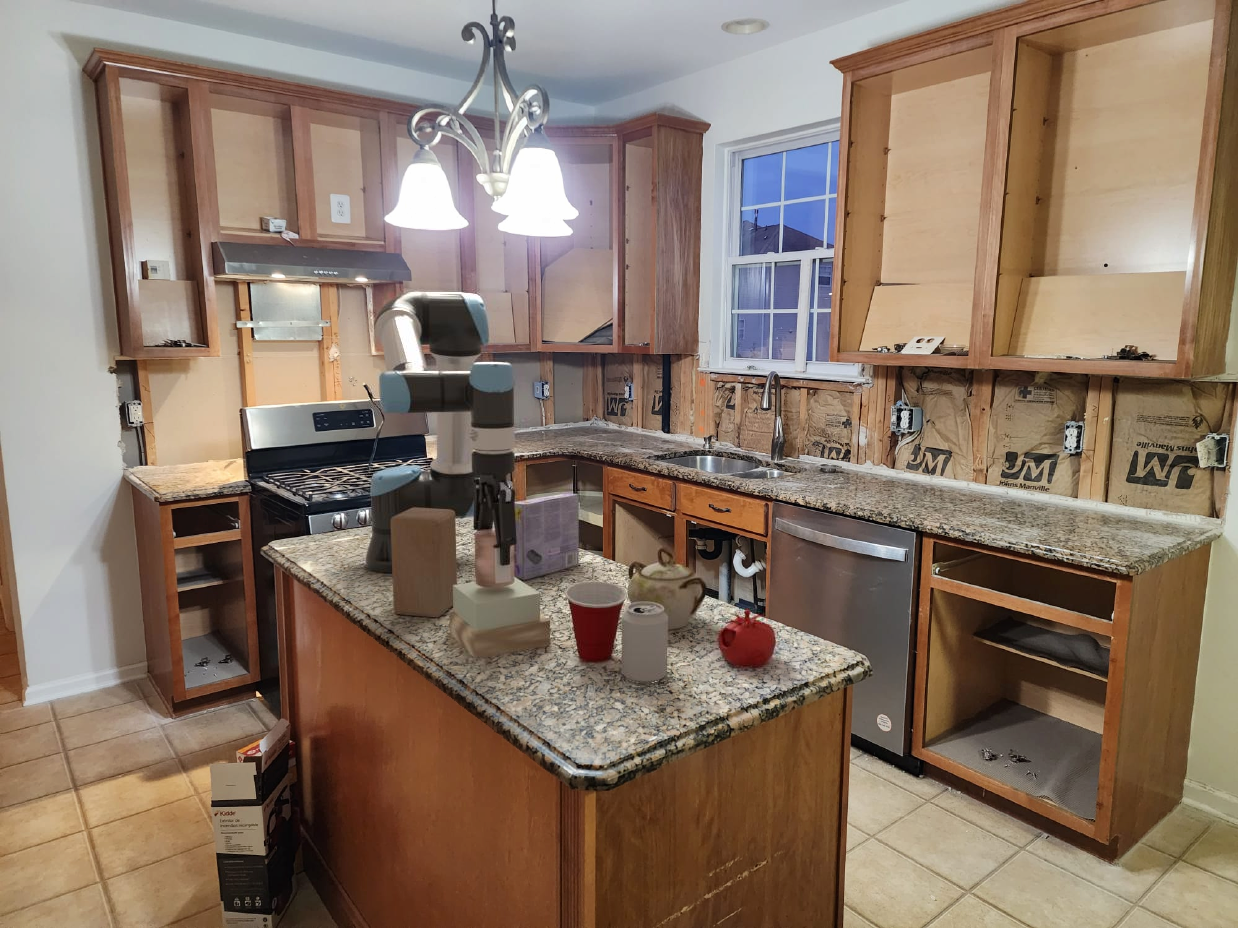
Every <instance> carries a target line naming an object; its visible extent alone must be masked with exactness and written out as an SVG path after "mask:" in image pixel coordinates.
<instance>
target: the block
mask: <svg viewBox="0 0 1238 928" xmlns="http://www.w3.org/2000/svg"><path fill="white" fill-rule="evenodd" d="M456 527H457V526H456V518H455V511H453V510H451V509H433V508H416V507H413V508H411V509H409V510H407V511H404V512H402V513H400V514H398V515H396V516H394V517H392V518H391V547H392V573H391V574H392V575H391V576H392V595H393V599H392V600H393V612H394V614H396V615H404V616H414V617H415V616H416V617H428V618H440V617H441V616H442V615H443V614H445V613H446V612H447V611H449V610H450V609H451V608H452V607H453V585H457V584H458V578H457V577H458V574H457V571H458V570H457V568H458V567H457V566H458V564H457V530H456V529H457V528H456Z"/></svg>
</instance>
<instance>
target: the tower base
mask: <svg viewBox="0 0 1238 928" xmlns="http://www.w3.org/2000/svg"><path fill="white" fill-rule="evenodd" d="M448 611H449V613H448V615H449V634H450V635H451V636H452V637H453V638H454V640H456V641H457V642H458V643H459V644H460V645H461V646H463V648H464V649H465V650H466V651H467V652H468V653H469V654H471V656H472V657H473V658H474V657H475V658H476V659H475V660H481V658H482V659H486V658H490V657H491V658H492V657H495V656H501V655H505V654H511V653H515V652H520V651H525V650H530V649H531V650H532V649H535V648H541V647H544V646H549V645H551V620H550V619H548V618H547V616H544V615H543V614H541V613H540V620H537V621H532V622H527V623H521V624H516V625H511V626H505V627H500V628H495V629H489V630H484V631H479V632H477V631H476V630H475V629H473V628H472V627H471V626H470V625H469V624H468V623H466V622H465V621H464V620H463V619H462V618H461V617H460V616H458V615H457V614H456V613H455V612H454V611H453V609H448Z"/></svg>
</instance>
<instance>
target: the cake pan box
mask: <svg viewBox="0 0 1238 928" xmlns="http://www.w3.org/2000/svg"><path fill="white" fill-rule="evenodd" d="M579 498H580V497H579V494H577V493H561V494H555V495H549V496H542V497H536V498H531V499H526V500H520V501H515V502H514V503H515V520H516V538H517V544H516V545H514V577H516V578H517V579H519V580H520V581H524V582H525V581H527V580H531V579H534V578H538V577H540V576H541V577H542V576H547V575H549V574H553V573H557V572H560V571H563V570H566V569H571V568H572V567H577V566H579V564H580V561H579V560H580V559H579V558H580V557H579V555H580V553H579V552H580V550H579V549H580V546H579V541H580V540H579V539H580V537H579V536H580V535H579V533H580V531H579V526H580V525H579V522H580V521H579V520H580V519H579V516H580V515H579V513H580V512H579V511H580V510H579V508H580V507H579V502H580V500H579Z"/></svg>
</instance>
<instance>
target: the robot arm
mask: <svg viewBox="0 0 1238 928" xmlns="http://www.w3.org/2000/svg"><path fill="white" fill-rule="evenodd" d="M484 303H485V302H484V300H483V299H482V298H481V296H479V295H478V294H475V293H467V292H457V291H456V292H454V291H453V292H450V291H449V292H448V291H447V292H446V291H445V292H441V291H440V292H437V291H434V292H431V291H430V292H429V291H426V292H424V291H410V292H406V293H402V294H399V295H397V296H395V297H393V298H392V299H390V300H389V301H387V302H386V303H385V304H384V305H383V306H382V307H381V308H380V309H379V311H378V312H377V314H376V316H375V320H374V328H373V329H374V334H375V337H376V339H377V341H378V343H379V344H380V345H381V346H382V350H383V351H382V352H383V356H384V362H385V367H386V371H383V372H381V373H380V375H379V377H378V387H379V388H378V392H379V403H380V404H379V405H380V409H381V410H382V412H384V413H386V414H400V415H406V414H422V413H423V414H424V413H425V414H426V413H430V414H431V413H436V457H435V458H434V459H433V460H432V461H431V462H430V465H429V466H430V467H429V468H430V471H429V470H428V471H422V469H421V467H420V466H419V465H414V464H413V465H400V466H394V467H389V468H386V469H385V468H384V469H382V470H379V471H377V472H375V473H374V474H373V475H372V476H371V478H370V491H369V496H370V501H371V502H370V504H371V508H370V509H371V536H370V537H371V538H370V541H369V545H368V547H367V551H366V555H365V568H366V569H368V570H370V571H372V572H378V573H387V574H388V573H389V574H390V573H391V574H392V547H391V518H392V517H394V516H396V515H398V514H400V513H402V512H404V511H407V510H409V509H411V508H413V507H416V508H433V509H451V510H453V511H455V519H465V518H472V517H473V525H472V526H473V530H474V531H476V532H477V531H480V530H484V529H493V526H494V529H495V534H496V541H497V544H496V545H493V547H494V548H495V583H503V582H509V581H511V546H512V545H516V544H517V538H516V520H515V503H514V502H516V499H515V498H516V490H515V488H509V485H508V478H507V476H508V474H512V473H513V472H515V470H516V469H515V467H516V463H515V460H516V459H515V458H516V457H515V456H516V455H515V452H514V450H513V449H515V446H516V444H515V443H516V439H515V438H516V435H515V434H516V432H515V430H516V427H515V385H516V380H514V379H515V378H514V376H515V375H514V367H513V365H512V364H511V363H510V362H502V361H501V362H500V361H481V362H480V361H478V362H475V361H476V360H477V359H478V358H479V357H480V356H481V354H482V347H485V346H487V345H489V341H490V328H489V322H488V314H487V309H486V306H485V304H484ZM422 346H429V354H430V355H431V356H432V357H433V358H435V360H436V370H429V367H428V365H427V361H426V357H425V353H424V351H423V347H422Z"/></svg>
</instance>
